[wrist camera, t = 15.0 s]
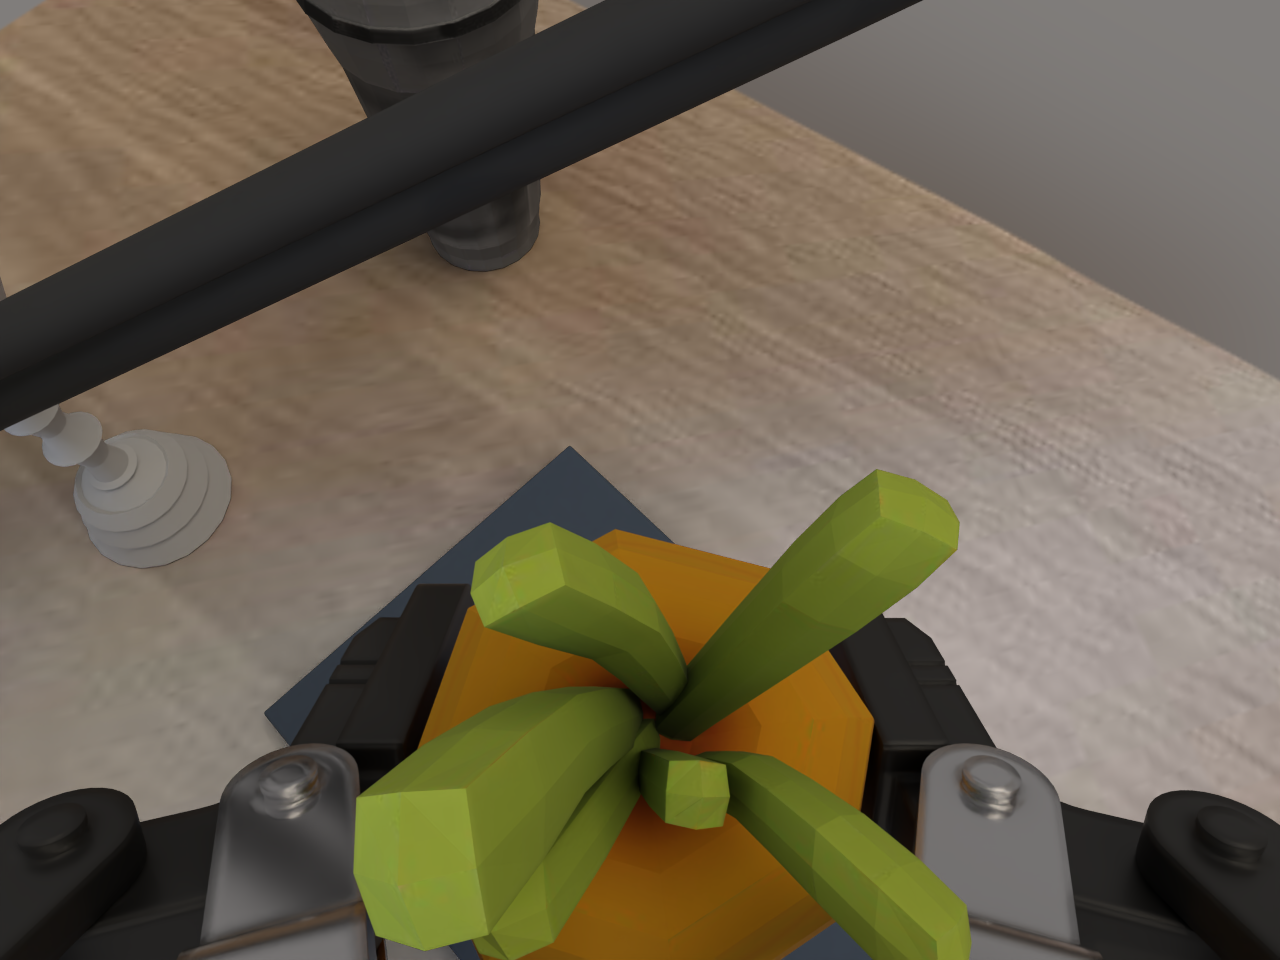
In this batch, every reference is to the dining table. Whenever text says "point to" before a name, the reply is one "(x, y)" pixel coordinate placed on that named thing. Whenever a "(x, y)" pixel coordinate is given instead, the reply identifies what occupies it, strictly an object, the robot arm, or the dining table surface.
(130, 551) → the chalice
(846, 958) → the mat
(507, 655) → the carrot
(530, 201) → the beverage cup
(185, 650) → the dining table surface
